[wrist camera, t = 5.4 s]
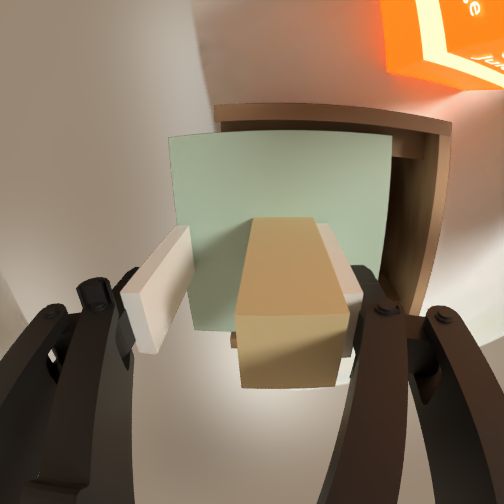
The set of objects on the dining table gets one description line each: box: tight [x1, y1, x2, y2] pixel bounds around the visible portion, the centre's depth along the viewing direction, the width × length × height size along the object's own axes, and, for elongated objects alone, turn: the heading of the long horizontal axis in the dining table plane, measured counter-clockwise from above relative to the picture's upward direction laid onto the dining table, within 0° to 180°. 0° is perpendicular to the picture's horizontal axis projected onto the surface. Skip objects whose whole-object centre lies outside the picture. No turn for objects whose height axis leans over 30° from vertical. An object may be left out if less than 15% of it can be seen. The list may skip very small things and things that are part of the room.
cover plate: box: [168, 130, 392, 389], centre depth 12 cm, size 12×11×9 cm
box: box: [214, 103, 452, 348], centre depth 18 cm, size 14×12×8 cm
